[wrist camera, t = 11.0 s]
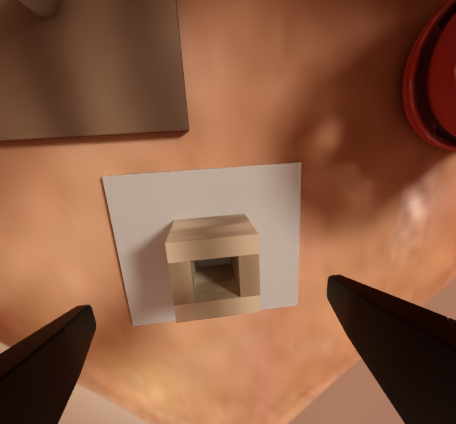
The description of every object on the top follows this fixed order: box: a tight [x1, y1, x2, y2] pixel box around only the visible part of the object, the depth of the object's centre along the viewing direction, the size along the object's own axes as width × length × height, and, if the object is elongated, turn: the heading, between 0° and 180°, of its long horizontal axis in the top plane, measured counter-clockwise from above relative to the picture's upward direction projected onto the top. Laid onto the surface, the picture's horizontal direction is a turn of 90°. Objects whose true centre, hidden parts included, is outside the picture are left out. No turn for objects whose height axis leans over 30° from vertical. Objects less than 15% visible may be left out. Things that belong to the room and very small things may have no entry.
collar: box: [165, 214, 261, 323], centre depth 18 cm, size 6×6×5 cm
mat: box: [102, 162, 302, 326], centre depth 20 cm, size 16×14×1 cm
